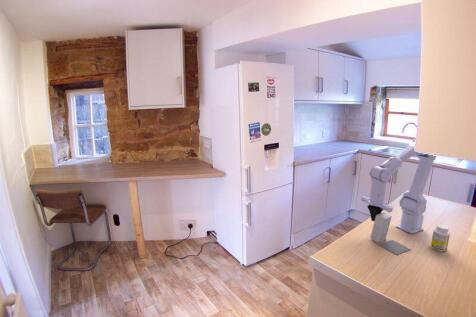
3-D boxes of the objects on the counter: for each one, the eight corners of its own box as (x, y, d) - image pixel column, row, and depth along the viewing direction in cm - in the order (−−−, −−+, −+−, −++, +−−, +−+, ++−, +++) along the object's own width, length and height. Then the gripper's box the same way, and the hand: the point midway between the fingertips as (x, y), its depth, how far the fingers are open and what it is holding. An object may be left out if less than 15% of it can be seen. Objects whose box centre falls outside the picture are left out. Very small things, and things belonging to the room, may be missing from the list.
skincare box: (378, 243, 118) (385, 220, 114) (369, 237, 122) (375, 215, 117) (386, 239, 121) (392, 216, 117) (376, 233, 125) (383, 211, 121)
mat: (392, 240, 121) (392, 239, 121) (410, 249, 113) (410, 249, 113) (378, 244, 117) (378, 244, 117) (396, 255, 109) (396, 254, 109)
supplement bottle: (440, 244, 117) (444, 223, 114) (449, 251, 112) (454, 229, 109) (427, 244, 117) (431, 223, 114) (436, 251, 112) (441, 229, 109)
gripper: (357, 189, 124) (355, 215, 127) (386, 200, 111) (382, 229, 114) (368, 186, 127) (365, 212, 130) (397, 197, 114) (393, 226, 117)
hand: (374, 220), depth 122 cm, fingers closed
